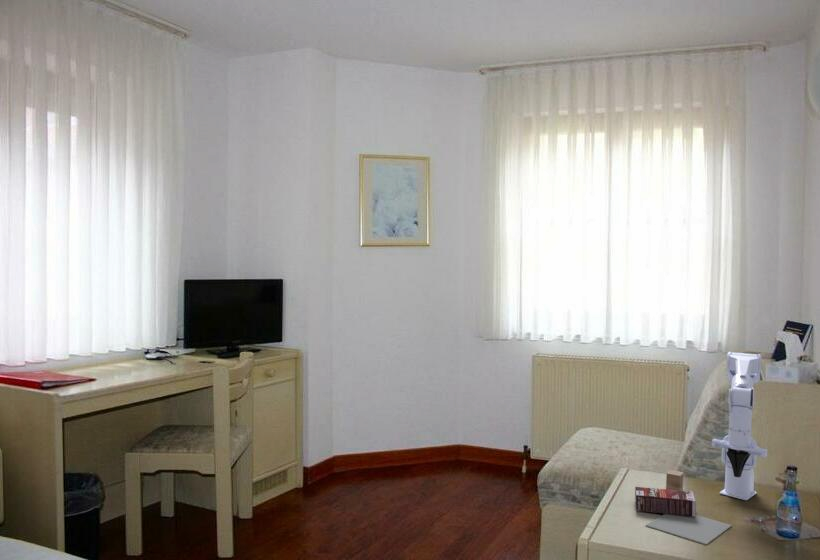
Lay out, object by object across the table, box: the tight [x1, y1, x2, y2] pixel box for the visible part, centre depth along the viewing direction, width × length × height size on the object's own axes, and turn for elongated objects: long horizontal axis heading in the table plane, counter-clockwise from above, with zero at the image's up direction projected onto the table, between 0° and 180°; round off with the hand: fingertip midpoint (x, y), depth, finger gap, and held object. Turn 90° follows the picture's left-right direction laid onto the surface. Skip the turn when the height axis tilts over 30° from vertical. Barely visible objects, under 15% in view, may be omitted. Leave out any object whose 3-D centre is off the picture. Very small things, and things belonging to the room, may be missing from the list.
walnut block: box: [665, 469, 684, 491], centre depth 208 cm, size 4×4×7 cm
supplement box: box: [634, 486, 697, 517], centre depth 195 cm, size 9×5×16 cm
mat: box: [645, 513, 733, 546], centre depth 184 cm, size 18×16×1 cm
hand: (737, 476), depth 195 cm, fingers closed
